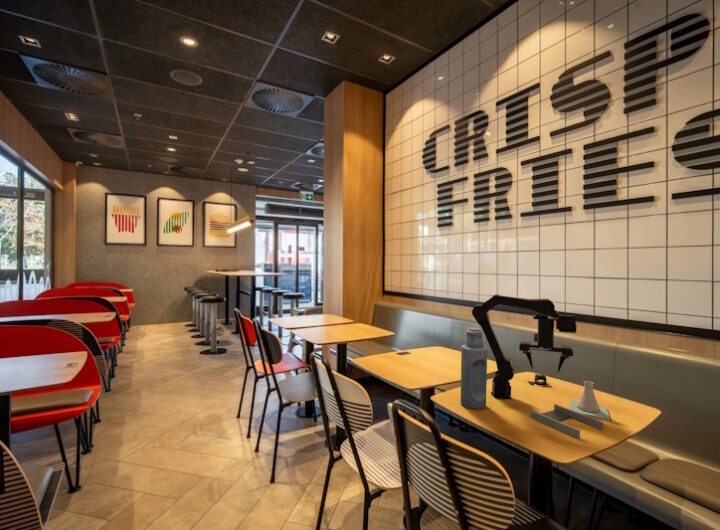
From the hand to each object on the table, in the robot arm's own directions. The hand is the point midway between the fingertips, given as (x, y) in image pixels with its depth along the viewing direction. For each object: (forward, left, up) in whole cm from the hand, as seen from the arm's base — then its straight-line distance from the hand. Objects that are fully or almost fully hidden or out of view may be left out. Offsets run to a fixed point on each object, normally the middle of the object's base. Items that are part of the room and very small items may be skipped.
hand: (545, 370), depth 145 cm
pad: (+13, -7, -13) cm, 20 cm away
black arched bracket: (+9, +23, -14) cm, 28 cm away
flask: (+13, -7, -12) cm, 19 cm away
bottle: (-29, -4, -13) cm, 32 cm away
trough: (-1, -18, -13) cm, 22 cm away
